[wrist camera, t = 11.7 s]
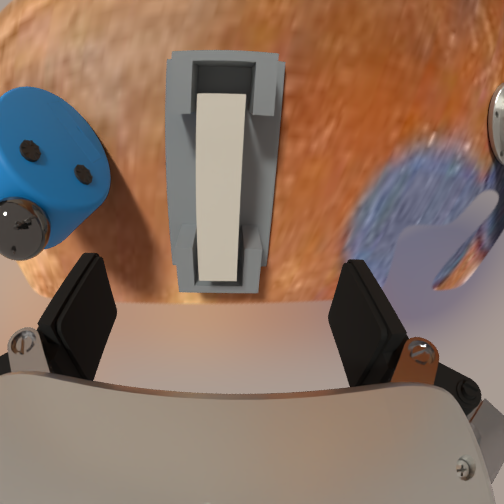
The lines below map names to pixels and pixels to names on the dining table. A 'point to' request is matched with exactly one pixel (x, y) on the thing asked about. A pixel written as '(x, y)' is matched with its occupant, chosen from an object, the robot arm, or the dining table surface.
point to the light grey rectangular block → (218, 183)
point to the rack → (253, 159)
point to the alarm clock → (46, 172)
